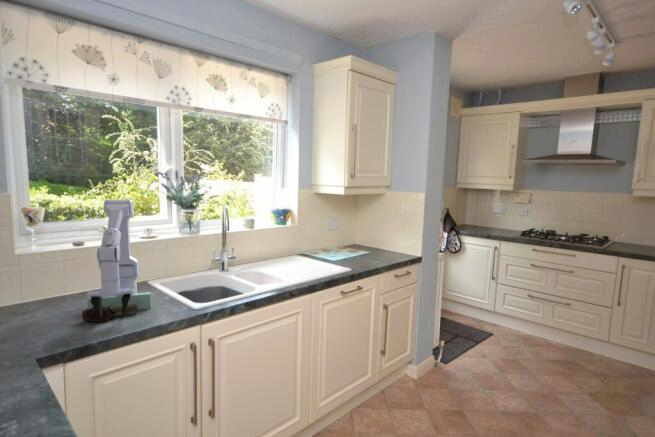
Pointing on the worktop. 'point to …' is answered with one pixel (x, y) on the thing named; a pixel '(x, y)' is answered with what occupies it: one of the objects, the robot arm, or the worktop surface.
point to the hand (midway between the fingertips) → (112, 315)
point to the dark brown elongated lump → (108, 312)
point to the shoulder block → (139, 298)
